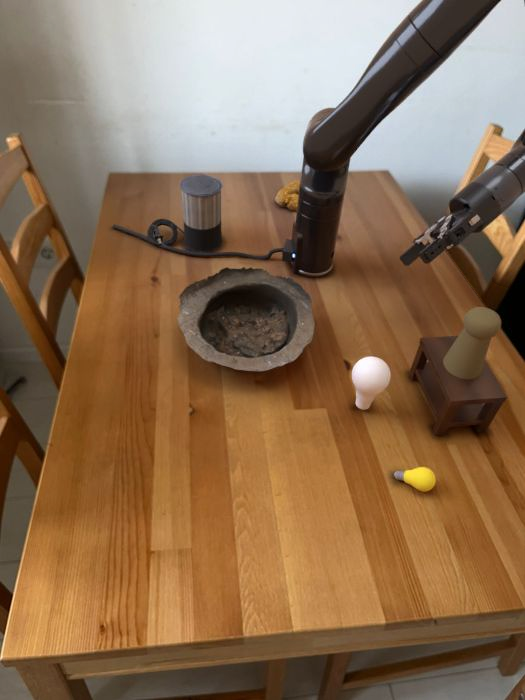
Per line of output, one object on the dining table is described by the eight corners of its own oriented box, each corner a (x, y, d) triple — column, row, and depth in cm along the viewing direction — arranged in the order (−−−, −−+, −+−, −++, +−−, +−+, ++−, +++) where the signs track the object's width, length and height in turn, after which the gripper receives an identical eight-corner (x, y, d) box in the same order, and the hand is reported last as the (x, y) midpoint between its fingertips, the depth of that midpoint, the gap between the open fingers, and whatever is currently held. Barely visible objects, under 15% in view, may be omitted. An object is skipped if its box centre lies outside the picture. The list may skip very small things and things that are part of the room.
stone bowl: (247, 283, 110) (251, 248, 103) (335, 351, 99) (346, 316, 92) (151, 335, 97) (149, 298, 90) (241, 419, 86) (246, 385, 79)
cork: (483, 382, 80) (510, 331, 73) (444, 375, 81) (466, 323, 73) (479, 355, 85) (504, 304, 77) (442, 349, 85) (463, 298, 78)
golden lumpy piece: (272, 194, 139) (273, 177, 135) (312, 194, 140) (314, 177, 137) (277, 213, 132) (278, 196, 128) (319, 212, 133) (321, 195, 130)
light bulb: (435, 495, 76) (433, 488, 73) (394, 488, 78) (391, 481, 76) (437, 474, 77) (436, 466, 75) (397, 467, 80) (394, 459, 77)
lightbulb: (371, 427, 85) (385, 382, 77) (338, 410, 87) (348, 366, 79) (385, 403, 88) (400, 358, 81) (353, 388, 90) (364, 343, 83)
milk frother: (230, 247, 120) (230, 188, 109) (169, 267, 113) (163, 206, 103) (200, 219, 128) (198, 162, 117) (142, 236, 121) (133, 177, 111)
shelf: (435, 436, 84) (451, 401, 77) (407, 373, 94) (420, 337, 87) (486, 432, 85) (507, 397, 79) (454, 370, 95) (470, 334, 88)
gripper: (452, 189, 93) (384, 247, 93) (495, 171, 79) (416, 239, 79) (475, 221, 95) (409, 278, 95) (522, 210, 81) (444, 277, 81)
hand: (412, 260), depth 87 cm, fingers open, 8 cm apart
